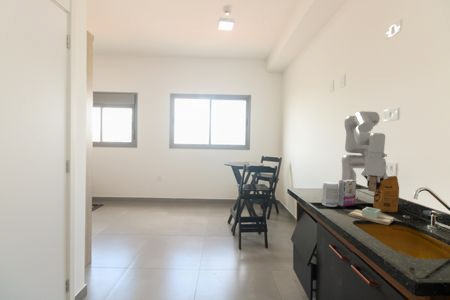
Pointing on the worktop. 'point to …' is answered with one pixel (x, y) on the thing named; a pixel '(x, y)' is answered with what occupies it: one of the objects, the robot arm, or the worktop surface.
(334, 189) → the supplement tub
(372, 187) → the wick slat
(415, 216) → the worktop surface
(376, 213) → the pale green block
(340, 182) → the candy bar box
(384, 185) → the coffee package
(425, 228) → the worktop surface
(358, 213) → the maple board
